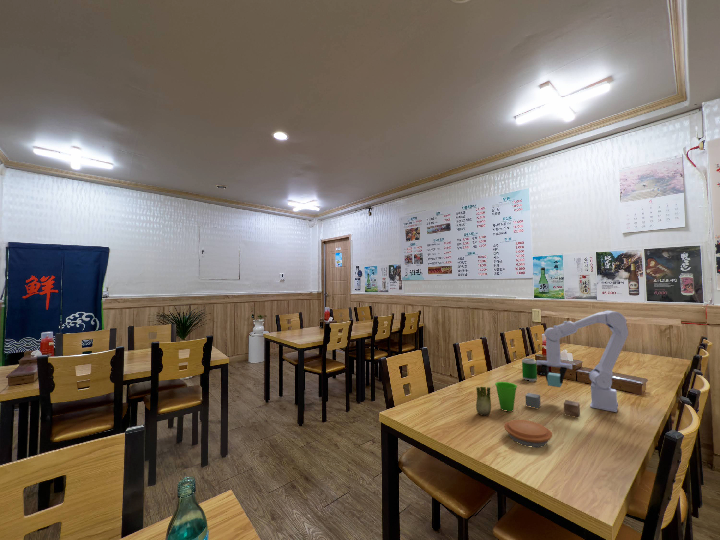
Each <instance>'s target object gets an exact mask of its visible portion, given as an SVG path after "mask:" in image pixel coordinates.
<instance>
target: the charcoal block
mask: <svg viewBox="0 0 720 540" xmlns="http://www.w3.org/2000/svg"><path fill="white" fill-rule="evenodd" d="M524 396H525V406H526V405H527V406H531V407H535V408H539V409H540V407H541V406H540V405H541V395H540V394H536V393H532V392H528V393H526V394H525V395H524ZM539 406H540V407H539ZM531 407H530V408H531ZM535 408H534V409H535Z"/></svg>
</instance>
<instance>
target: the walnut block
mask: <svg viewBox="0 0 720 540" xmlns="http://www.w3.org/2000/svg"><path fill="white" fill-rule="evenodd" d="M580 406H581V405H580V402H578V401H572V400H567V399H565V401H564V402H563V415H564V414H566V415H565V416H567V415H570V416H569V417H572V416H575V417H574V418H576V417H579V418H580V414H581V407H580Z"/></svg>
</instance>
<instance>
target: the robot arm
mask: <svg viewBox="0 0 720 540" xmlns="http://www.w3.org/2000/svg"><path fill="white" fill-rule="evenodd" d="M627 321H628V320H627V319H626V318H625V315H623V314H622V313H621V312H619V311H613V310H610V309H609V310H608V309H607V310H604V311H599V312H595V313H594V314H591V315H589V316H586V317H583V318H582V319H579V320H576V321H574V322H573V321H571V320H568V321H567V320H564V321H563V323H561V324H558V325H553V327H547V328H546V329H545V330H544V333H543V335H544V336H545V338H546V339H545V340H546V341H545V348H546V360H542V359H541V360H540V359H537V360H535V361H536V366H540V368H541V370H542V371H543V374H544V375H545V380H546V381H547V374H548V373H550V370H549V368H550V367H555V368H559V374H560V384H562V385H563V383H564V377H565V375H566V372H567V370H568V369H569V370H573V364H571V363H565V362H561V361H562V359H561V358H562V357H561V343H560V340H561V339H562V338H564V337H567V336H570V335H573V334H575V333H577V331H578V329H581V328H585V327H588V326H591V325H594V324H602V325H603V324H604V325H605V326H607V327H608V328H609V330H610V331H611V335H610V338H609V340H608V342H607V344H606V346H605V350H604V351H603V353H602V355H601V358H600V361H599V362H598V364H596V365H595V366H594V368H593V369H592V370H591V371H590V372H589V374H588V378H589V380H590V381H591V384H590V395H591V396H590V397H591V398H590V399H591V402H590V405H589V407H590V408H593V409H599V410H603V411H609V412H615V413H618V407H619V402H618V392H617V389H615V388H612V386H613V377H614V376H613V375H614V374H613V373H614V372H613V369H614V367H615V365H616V362H617V361H618V359H619V356H620V353H621V352H622V349H623V347H624V346H625V344H626V341H627V338H628V336H629V329H628V324H627Z"/></svg>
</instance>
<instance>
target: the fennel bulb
mask: <svg viewBox="0 0 720 540" xmlns="http://www.w3.org/2000/svg"><path fill="white" fill-rule="evenodd" d="M475 389H476V402H475V408H476V409H475V410H476V412H477V413H478V414H479V415H480V414H482V415H481V416H485V415H487V416H489V415H491V412H492V411H491V410H492V401H491V387H488V386H476V388H475Z"/></svg>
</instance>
